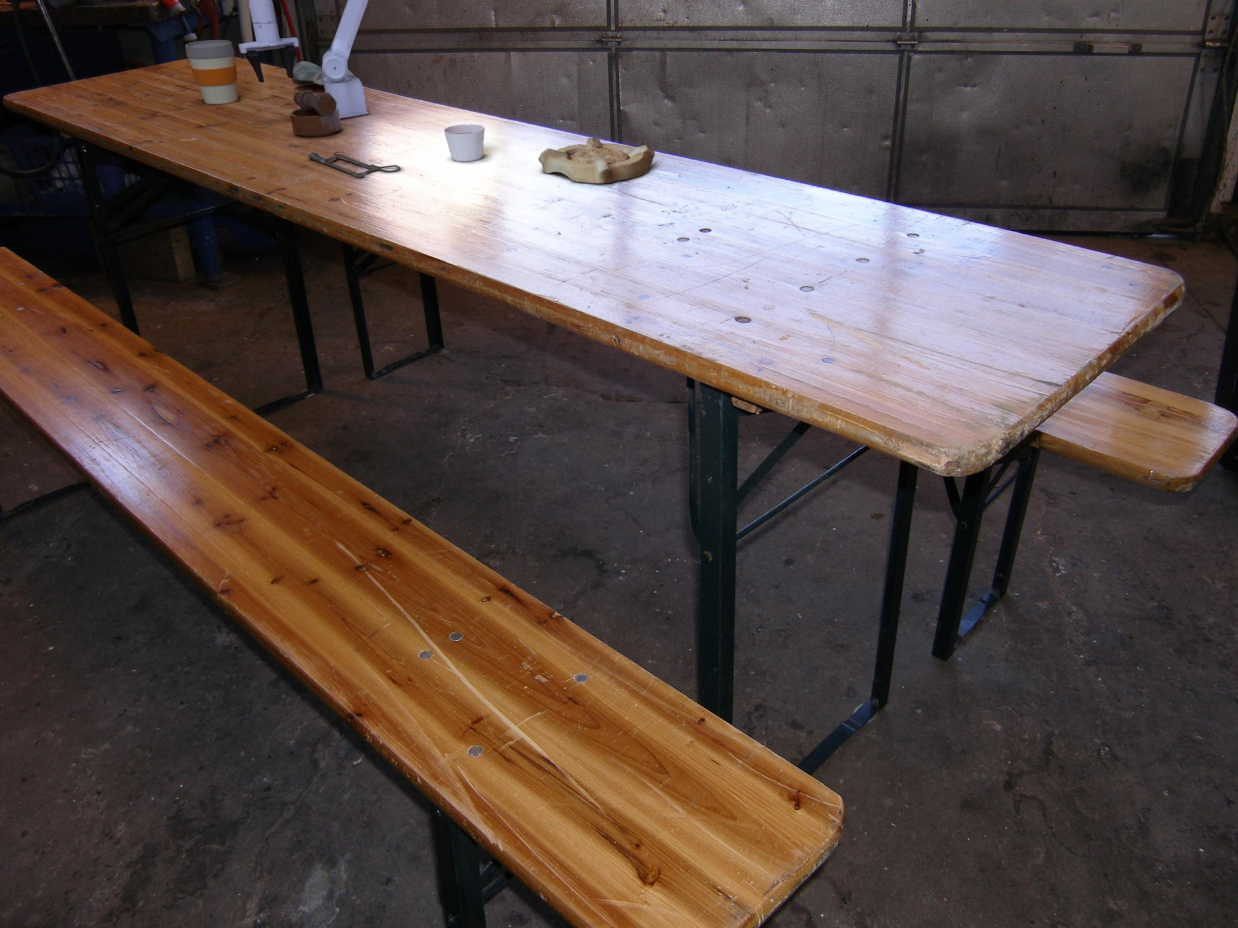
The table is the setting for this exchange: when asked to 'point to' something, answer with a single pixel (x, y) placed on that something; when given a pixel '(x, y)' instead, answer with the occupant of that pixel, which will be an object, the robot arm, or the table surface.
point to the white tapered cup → (465, 141)
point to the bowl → (314, 123)
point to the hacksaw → (371, 167)
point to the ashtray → (598, 161)
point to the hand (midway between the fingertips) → (276, 80)
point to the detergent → (309, 74)
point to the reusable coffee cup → (214, 70)
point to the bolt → (316, 102)
